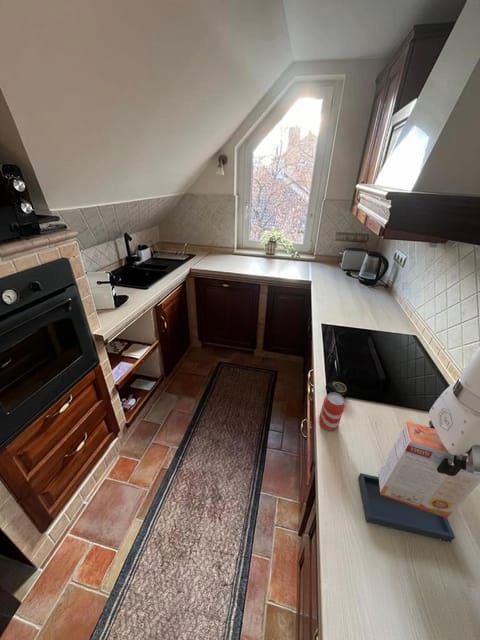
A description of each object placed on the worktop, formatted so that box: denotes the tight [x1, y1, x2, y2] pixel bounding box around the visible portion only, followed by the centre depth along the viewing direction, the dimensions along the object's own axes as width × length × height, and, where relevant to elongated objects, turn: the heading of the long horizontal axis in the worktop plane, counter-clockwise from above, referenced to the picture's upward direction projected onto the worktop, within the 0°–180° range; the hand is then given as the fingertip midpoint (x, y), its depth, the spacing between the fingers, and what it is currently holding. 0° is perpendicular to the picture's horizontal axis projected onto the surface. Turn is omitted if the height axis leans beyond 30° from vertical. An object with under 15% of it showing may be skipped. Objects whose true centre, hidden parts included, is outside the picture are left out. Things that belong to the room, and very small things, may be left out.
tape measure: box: [325, 380, 348, 399], centre depth 97 cm, size 7×7×4 cm
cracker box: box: [377, 420, 480, 519], centre depth 56 cm, size 14×6×21 cm, turn 69°
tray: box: [357, 472, 456, 543], centre depth 64 cm, size 19×11×2 cm, turn 78°
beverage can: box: [318, 392, 346, 431], centre depth 83 cm, size 6×6×12 cm
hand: (437, 455), depth 53 cm, fingers closed on cracker box, 6 cm apart
